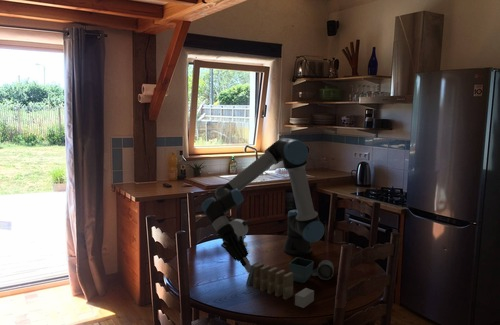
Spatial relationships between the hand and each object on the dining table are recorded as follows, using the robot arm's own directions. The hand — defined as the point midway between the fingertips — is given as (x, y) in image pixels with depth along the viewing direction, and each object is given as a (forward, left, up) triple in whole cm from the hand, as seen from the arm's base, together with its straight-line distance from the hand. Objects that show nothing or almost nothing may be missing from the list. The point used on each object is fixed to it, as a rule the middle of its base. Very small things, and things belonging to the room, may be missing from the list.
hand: (250, 271), depth 183 cm
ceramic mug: (-35, +4, -6) cm, 36 cm away
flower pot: (-23, +4, -6) cm, 24 cm away
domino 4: (-6, +10, -6) cm, 14 cm away
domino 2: (-2, +3, -6) cm, 7 cm away
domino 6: (-10, +17, -6) cm, 21 cm away
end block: (-14, +24, -6) cm, 29 cm away
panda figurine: (-12, -52, -6) cm, 53 cm away
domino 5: (-8, +14, -6) cm, 17 cm away
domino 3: (-4, +7, -6) cm, 10 cm away
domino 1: (0, 0, -6) cm, 6 cm away
